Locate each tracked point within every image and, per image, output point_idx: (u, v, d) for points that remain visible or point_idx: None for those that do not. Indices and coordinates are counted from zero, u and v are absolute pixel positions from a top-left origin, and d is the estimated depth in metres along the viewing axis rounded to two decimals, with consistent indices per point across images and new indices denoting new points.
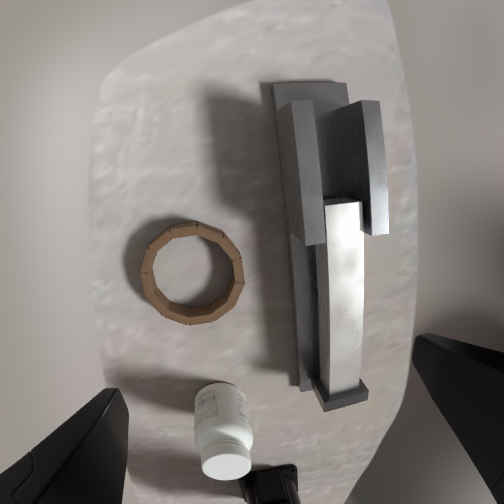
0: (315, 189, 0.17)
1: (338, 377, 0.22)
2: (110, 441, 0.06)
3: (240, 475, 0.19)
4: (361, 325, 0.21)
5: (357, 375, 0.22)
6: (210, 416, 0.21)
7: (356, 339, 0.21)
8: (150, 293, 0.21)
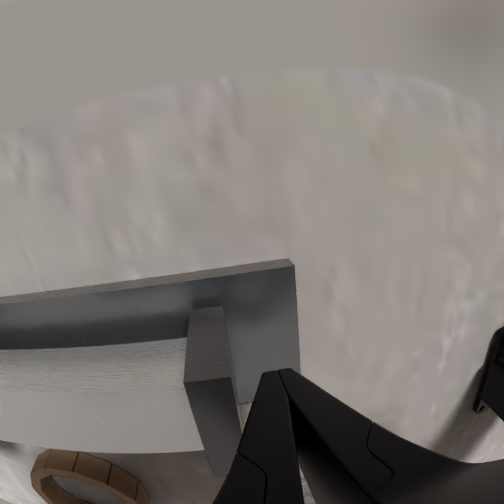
0: None
1: (143, 438, 0.07)
2: None
3: None
4: (4, 392, 0.06)
5: (139, 397, 0.07)
6: None
7: (34, 403, 0.07)
8: None
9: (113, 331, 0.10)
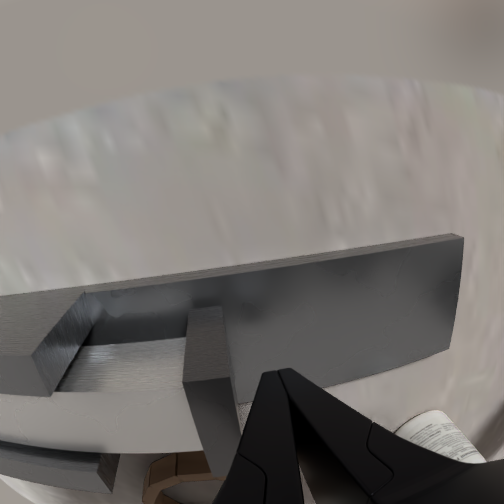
0: (24, 468, 0.07)
1: (142, 438, 0.07)
2: None
3: None
4: None
5: (137, 397, 0.07)
6: None
7: (33, 402, 0.07)
8: None
9: (325, 301, 0.11)
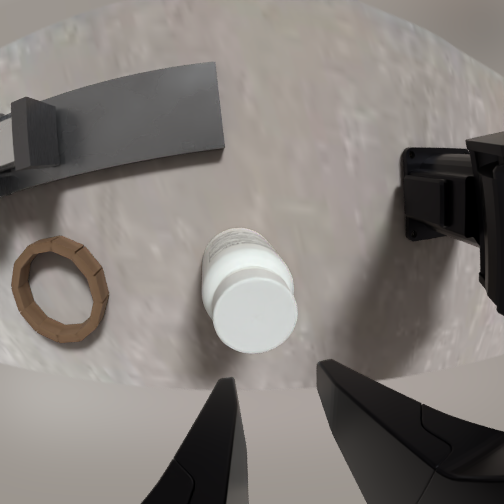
0: None
1: None
2: (241, 433, 0.07)
3: (284, 295, 0.13)
4: None
5: None
6: None
7: None
8: (75, 336, 0.18)
9: (110, 102, 0.16)
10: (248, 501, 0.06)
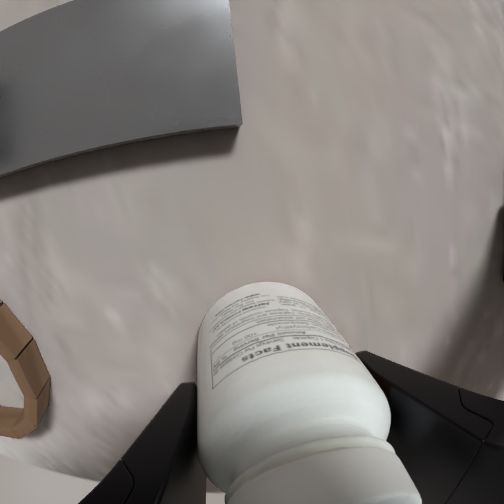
0: None
1: None
2: None
3: None
4: None
5: None
6: None
7: None
8: (11, 431, 0.09)
9: (32, 50, 0.07)
10: None
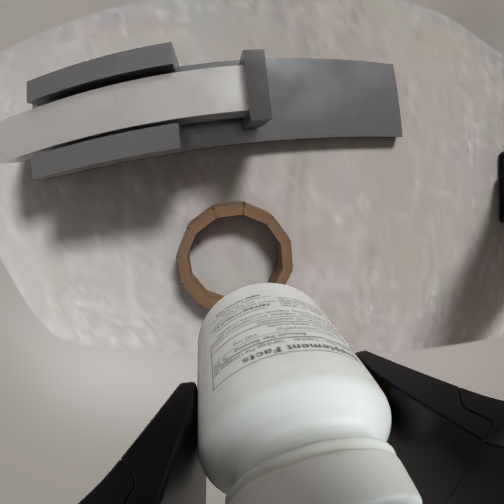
0: (115, 142, 0.14)
1: (211, 100, 0.14)
2: (197, 438, 0.07)
3: None
4: (127, 83, 0.13)
5: (216, 70, 0.14)
6: None
7: (148, 85, 0.14)
8: None
9: (310, 79, 0.17)
10: None
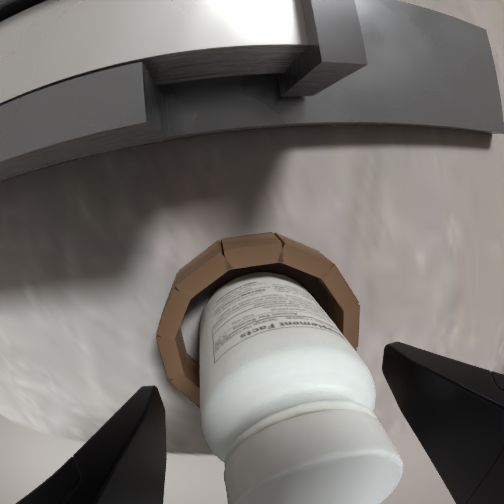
0: (5, 120, 0.05)
1: (225, 19, 0.05)
2: (152, 441, 0.06)
3: (387, 466, 0.04)
4: (48, 2, 0.04)
5: None
6: None
7: None
8: None
9: (387, 27, 0.09)
10: None
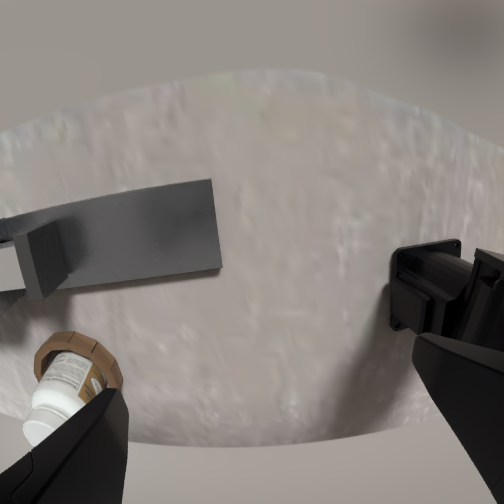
0: None
1: (7, 279, 0.14)
2: (110, 441, 0.06)
3: None
4: None
5: (4, 251, 0.14)
6: None
7: None
8: None
9: (109, 220, 0.18)
10: None
